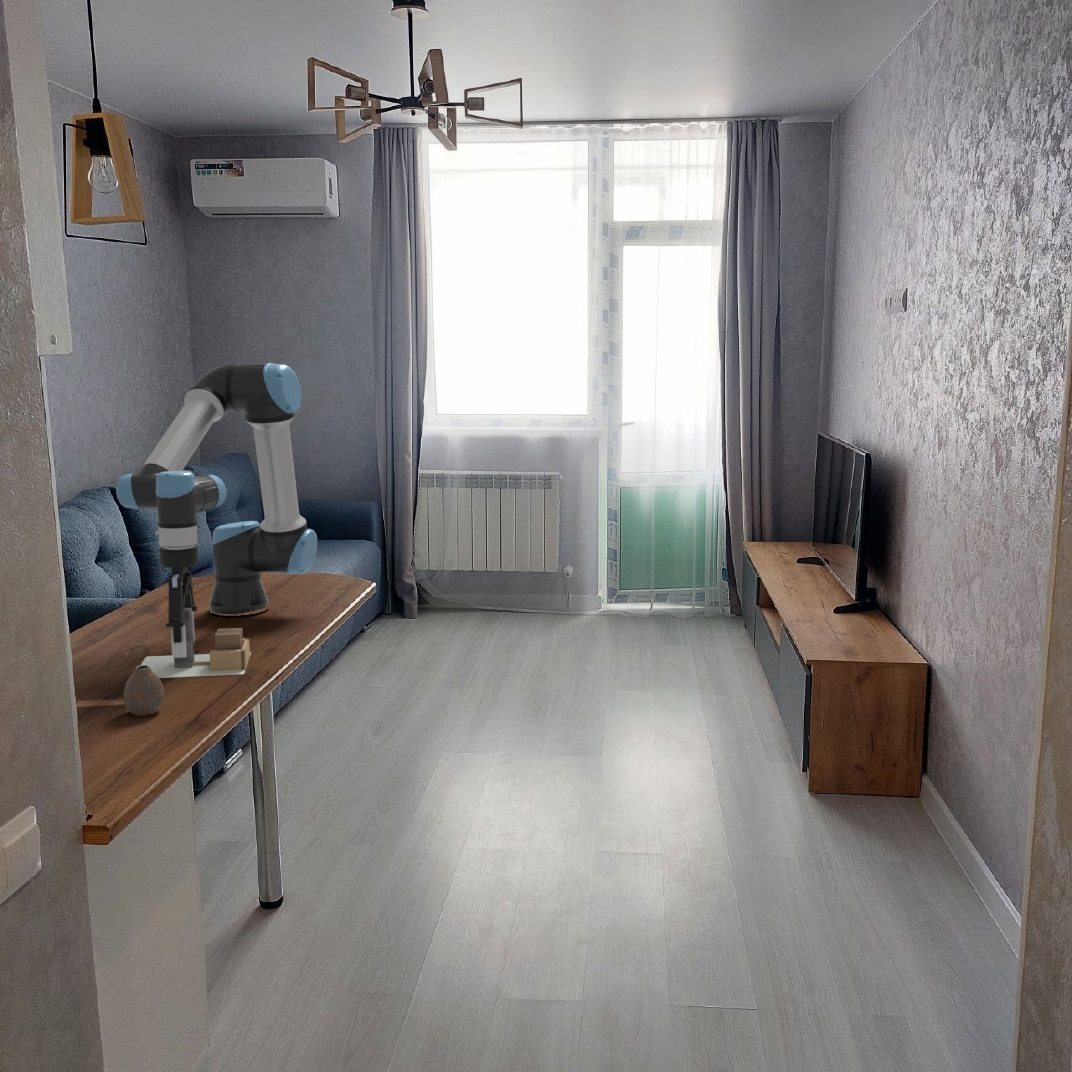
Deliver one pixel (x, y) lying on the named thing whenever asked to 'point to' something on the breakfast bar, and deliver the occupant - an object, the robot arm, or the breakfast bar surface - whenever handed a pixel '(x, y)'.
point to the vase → (143, 692)
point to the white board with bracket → (219, 665)
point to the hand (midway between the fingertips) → (183, 649)
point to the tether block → (223, 641)
